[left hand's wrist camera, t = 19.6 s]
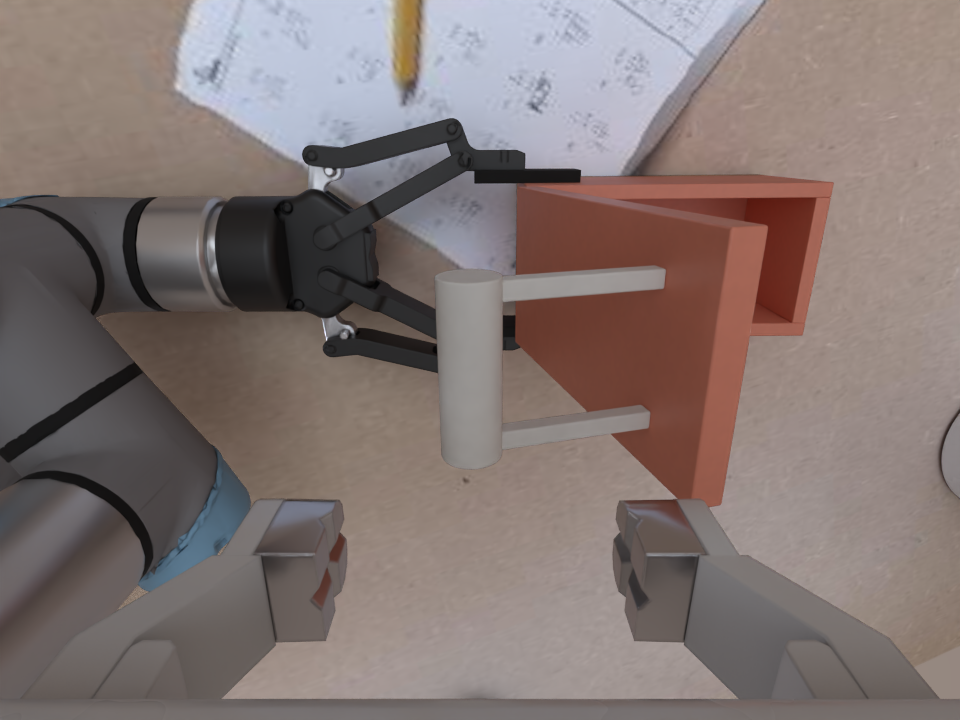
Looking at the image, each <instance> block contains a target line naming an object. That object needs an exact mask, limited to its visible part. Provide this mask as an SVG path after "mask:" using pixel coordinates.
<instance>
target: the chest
mask: <svg viewBox="0 0 960 720" xmlns="http://www.w3.org/2000/svg"><path fill="white" fill-rule="evenodd" d="M833 184H834V183H833V182H824V181H814V180H804V179H795V178H785V177H775V176H765V175H758V174H753V175H656V176H581V179H580V183H517V188H518V187H525V186H539V187H545V188H550V189H556V190H562V191H568V192H574V193H580V194H586V195H592V196H598V197H604V198H609V199H615V200H621V201H627V202H633V203H639V204H645V205H651V206H657V207H663V208H668V209H674V210H680V211H686V212H692V213H698V214H704V215H710V216H716V217H722V218H727V219H733V220H739V221H745V222H751V223H757V224H763V225H767V226H768V232H767V238H766V244H765V250H764V255H763V261H762V267H761V273H760V279H759V285H758V291H757V297H756V303H755V308H754V314H753V320H752V326H751V332H750V336H790V335H803V330H804V325H805V321H806V316H807V311H808V306H809V301H810V296H811V291H812V287H813V282H814V277H815V272H816V267H817V262H818V257H819V252H820V248H821V243H822V238H823V233H824V228H825V223H826V218H827V213H828V209H829V204H830V199H831V198H830V197H831V194H832V189H833ZM516 247H517V223H516Z"/></svg>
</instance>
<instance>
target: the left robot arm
mask: <svg viewBox="0 0 960 720" xmlns="http://www.w3.org/2000/svg"><path fill="white" fill-rule="evenodd" d="M941 462H942V471H943V475H944V478H945V481H946V483H947V484H948V486H949V488H950V489H951V490H952V491H953V493H954V494H955V495H957V496H958V497H959V498H960V413H959V415H958V416H957V418H956V419H955V421H954V422H953V424H952V426H951V428H950V429H949V432H948V434H947V436H946V439H945V442H944V445H943V450H942V461H941ZM343 521H344V513H343V506H342V503H341V502H340V500H325V499H259V500H257V501H255V502H254V504H253V505H252V507H251V508H250V510H249V512H248V513H247V515H246V516H245V518H244V519H243V521H242V522H241V524H240V526H239V527H238V529H237V530H236V532H235V533H234V535H233V536H232V538H231V539H230V541H229V543H228V544H227V546H226V547H225V549H224V550H223V552H222V553H221V555H212V556H210V557H208V558H207V559H205V560H203V561H201V562H200V563H198V564H196V565H195V566H193V567H191V568H189V569H188V570H186V571H184V572H183V573H181V574H179V575H177V576H176V577H174V578H172V579H171V580H169V581H167V582H166V583H164V584H162V585H160V586H159V587H157V588H155V589H154V590H152V591H150V592H148V593H147V594H145V595H143V596H142V597H140V598H138V599H136V600H135V601H133V602H131V603H130V604H128V605H126V606H124V607H123V608H121V609H119V610H118V611H116V612H114V613H112V614H111V615H109V616H107V617H106V618H104V619H102V620H100V621H99V622H97V623H95V624H94V625H92V626H90V627H88V628H87V629H85V630H83V631H82V632H80V633H78V634H76V635H75V636H73V637H72V638H71V639H70V640H69V641H68V642H67V644H66V645H65V646H64V647H63V648H62V650H61V651H60V652H59V653H58V654H57V655H56V657H55V658H54V659H53V660H52V661H51V663H50V664H49V665H48V666H47V667H46V669H45V670H44V671H43V672H42V673H41V675H40V676H39V677H38V678H37V679H36V680H35V682H34V683H33V684H32V685H31V686H30V688H29V689H28V690H27V691H26V692H25V694H24V695H23V696H22V697H21V698H20V699H0V720H960V699H940V698H939V697H938V696H937V695H936V694H935V692H934V691H933V690H932V689H931V688H930V686H929V685H928V684H927V683H926V682H925V680H924V679H923V678H922V677H921V676H920V674H919V673H918V672H917V671H916V670H915V668H914V667H913V666H912V665H911V664H910V662H909V661H908V660H907V659H906V658H905V656H904V655H903V654H902V653H901V652H900V650H899V649H898V648H897V647H896V646H895V644H894V643H893V642H892V641H891V640H890V638H888V637H886V636H885V635H883V634H881V633H880V632H878V631H876V630H875V629H873V628H871V627H869V626H868V625H866V624H864V623H863V622H861V621H859V620H857V619H856V618H854V617H852V616H851V615H849V614H847V613H846V612H844V611H842V610H840V609H839V608H837V607H835V606H834V605H832V604H830V603H828V602H827V601H825V600H823V599H822V598H820V597H818V596H817V595H815V594H813V593H811V592H810V591H808V590H806V589H805V588H803V587H801V586H799V585H798V584H796V583H794V582H793V581H791V580H789V579H788V578H786V577H784V576H782V575H781V574H779V573H777V572H776V571H774V570H772V569H770V568H769V567H767V566H765V565H764V564H762V563H760V562H759V561H757V560H755V559H753V558H752V557H750V556H748V555H739V553H738V552H737V550H736V549H735V547H734V546H733V544H732V543H731V541H730V540H729V538H728V537H727V535H726V534H725V532H724V530H723V529H722V527H721V526H720V524H719V523H718V521H717V520H716V518H715V517H714V515H713V514H712V512H711V511H710V509H709V508H708V506H707V504H706V503H705V501H703V500H702V499H700V498H692V499H673V500H621V501H619V503H618V506H617V512H616V521H617V524H618V527H619V530H620V533H619V534H618V535H617V536H616V537H615V538H614V541H613V570H614V576H615V581H616V584H617V588H618V591H619V592H620V593H621V594H622V595H624V596H625V597H626V602H625V613H626V616H627V620H628V623H629V626H630V629H631V632H632V635H633V638H634V641H653V642H684V645H685V646H686V647H687V648H688V649H689V650H690V651H691V652H692V653H693V654H694V655H695V656H696V657H697V658H698V659H699V660H700V661H701V662H702V663H703V664H704V665H705V666H706V667H707V668H708V669H709V670H710V671H711V672H712V673H713V674H714V675H715V676H716V677H717V678H718V679H719V680H720V681H721V682H722V683H723V684H724V685H725V686H727V687H728V688H729V689H730V690H731V691H732V692H733V693H734V694H735V695H736V696H737V697H738V698H739V699H221V698H222V697H223V696H225V695H226V694H227V693H228V692H229V691H230V690H231V689H232V688H233V687H234V686H235V685H236V684H237V683H238V682H239V681H240V680H241V679H242V678H243V677H244V676H245V675H246V674H247V673H248V672H249V671H250V670H251V669H252V668H253V667H254V666H255V665H256V664H257V663H258V662H259V661H260V660H261V659H262V658H263V657H264V656H265V655H266V654H267V653H268V652H269V651H270V650H271V649H272V648H274V647H275V646H276V643H275V642H306V641H326V638H327V635H328V632H329V629H330V626H331V623H332V620H333V616H334V613H335V602H334V597H335V596H336V595H338V594H339V593H340V592H341V591H342V588H343V584H344V581H345V575H346V568H347V541H346V538H345V537H344V536H343V535H342V534H341V533H340V530H341V527H342V524H343Z"/></svg>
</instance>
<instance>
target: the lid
mask: <svg viewBox="0 0 960 720" xmlns="http://www.w3.org/2000/svg"><path fill="white" fill-rule="evenodd" d="M767 232H768V226H767V225H763V224H757V223H751V222H745V221H739V220H733V219H727V218H722V217H716V216H710V215H704V214H698V213H692V212H686V211H680V210H674V209H668V208H663V207H657V206H651V205H645V204H639V203H633V202H627V201H621V200H615V199H609V198H604V197H598V196H592V195H586V194H580V193H574V192H568V191H562V190H556V189H550V188H545V187H539V186H525V187H518V188H517V247H516V275H509V276H502V275H501V274H500V273H498V272H495V271H490V270H483V269H458V270H450V271H445V272H442V273H439V274H437V275H436V276H435V278H434V280H435V305H436V330H437V355H438V380H439V406H440V431H441V455H442V458H443V459H444V461H445V462H446V463H448V464H449V465H451V466H453V467H456V468H460V469H471V470H472V469H481V468H486V467H489V466H491V465H493V464H495V463H496V462H497V461H498V460H499V459H500V458H501V456H502V450H506V449H513V448H520V447H526V446H533V445H540V444H546V443H553V442H560V441H566V440H573V439H580V438H586V437H593V436H600V435H606V434H611V435H612V436H613V437H614V438H615V439H616V440H617V441H619V442H620V443H621V444H622V445H623V446H624V447H625V448H626V449H627V450H628V451H629V452H630V453H631V454H632V455H633V456H634V457H635V458H636V459H637V460H638V461H639V462H640V463H641V464H642V465H643V466H644V467H645V468H646V469H648V470H649V471H650V472H651V473H652V474H653V475H654V476H655V477H656V478H657V479H658V480H659V481H660V482H661V483H662V484H663V485H664V486H665V487H666V488H667V489H668V490H669V491H670V492H671V493H672V494H673V495H674V496H675V497H677V498H678V499H692V498H700V499H702V500H703V501H705V503H706V504H707V506H708V507H713V506H718V505H721V503H722V497H723V491H724V485H725V479H726V473H727V467H728V462H729V456H730V450H731V444H732V438H733V432H734V426H735V420H736V414H737V409H738V403H739V397H740V391H741V385H742V379H743V373H744V367H745V361H746V356H747V350H748V344H749V338H750V332H751V326H752V320H753V314H754V308H755V303H756V297H757V291H758V285H759V279H760V273H761V267H762V261H763V255H764V250H765V244H766V238H767ZM511 301H516V325H515V342H516V343H517V344H518V345H519V346H520V347H521V348H522V349H523V350H524V351H525V352H526V353H527V354H528V355H530V356H531V357H532V358H533V359H534V360H535V361H536V362H537V363H538V364H539V365H540V366H541V367H542V368H543V369H544V370H545V371H546V372H547V373H548V374H549V375H550V376H551V377H552V378H553V379H554V380H555V381H556V382H557V383H558V384H560V385H561V386H562V387H563V388H564V389H565V390H566V391H567V392H568V393H569V394H570V395H571V396H572V397H573V398H574V399H575V400H576V401H577V402H578V403H579V404H580V405H581V406H582V407H583V408H584V409H585V410H586V411H587V412H584V413H577V414H570V415H562V416H555V417H548V418H540V419H533V420H526V421H519V422H511V423H504V424H502V369H503V302H511Z"/></svg>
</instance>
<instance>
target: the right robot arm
mask: <svg viewBox="0 0 960 720" xmlns="http://www.w3.org/2000/svg"><path fill="white" fill-rule="evenodd" d="M443 143H447V145H448V148H449V151H450V153H451V156H450V157H448V158H446V159H445V160H443V161H441V162H439V163H437V164H436V165H434V166H432V167H430V168H429V169H427V170H425V171H423V172H422V173H420V174H418V175H416V176H414V177H413V178H411V179H409V180H407V181H406V182H404V183H402V184H400V185H399V186H397V187H395V188H393V189H391V190H390V191H388V192H386V193H384V194H383V195H381V196H379V197H377V198H376V199H374V200H372V201H370V202H368V203H367V204H365V205H363V206H361V207H359V208H358V209H356V210H355V209H353V208H352V207H350V206H349V205H348V204H346V203H345V202H343V201H342V200H340V199H339V198H338V197H336V196H335V195H333V194H332V193H331V192H329V191H327V189H328V185H329V184H330V183H331V182H332V181H335V180H339V179H341V178H342V177H343V175H344V168H351V167H357V166H362V165H365V164H369V163H373V162H376V161H380V160H384V159H388V158H391V157H395V156H399V155H403V154H406V153H410V152H414V151H417V150H421V149H425V148H429V147H432V146H436V145H440V144H443ZM302 156H303V160H304V161H305V163H307V164H308V190H306V191H304V192H303V193H301V194H300V195H297V196H238V197H233V198H231V199H230V200H229V201H228V200H226V199H224V198H222V197H220V196H219V197H149V198H109V197H59V196H57V195H32V196H22V197H16V198H7V199H0V699H20V698H21V697H22V696H23V695H24V694H25V692H26V691H27V690H28V689H29V688H30V686H31V685H32V684H33V683H34V682H35V680H36V679H37V678H38V677H39V676H40V675H41V673H42V672H43V671H44V670H45V669H46V667H47V666H48V665H49V664H50V663H51V661H52V660H53V659H54V658H55V657H56V655H57V654H58V653H59V652H60V651H61V650H62V648H63V647H64V646H65V645H66V644H67V642H68V641H69V640H70V639H71V638H72V637H73V636H75V635H76V634H78V633H80V632H82V631H83V630H85V629H87V628H88V627H90V626H92V625H94V624H95V623H97V622H99V621H100V620H102V619H104V618H106V617H107V616H109V615H111V614H112V613H114V612H116V611H117V609H118V608H119V607H120V606H121V605H122V603H123V602H124V601H125V600H126V599H127V598H128V596H129V595H130V594H131V593H132V592H133V590H134V589H135V588H136V587H137V585H139V586H140V587H141V588H142V589H144V590H146V591H149V592H150V591H152V590H154V589H155V588H157V587H159V586H160V585H162V584H164V583H166V582H167V581H169V580H171V579H172V578H174V577H176V576H177V575H179V574H181V573H183V572H184V571H186V570H188V569H189V568H191V567H193V566H195V565H196V564H198V563H200V562H201V561H203V560H205V559H207V558H208V557H210V556H212V555H217V554H218V552H219V551H220V550H221V548H222V547H224V546H225V545H226V544H227V543H228V542H229V541H230V539H231V538H232V536H233V535H234V533H235V532H236V530H237V529H238V527H239V526H240V524H241V522H242V521H243V519H244V518H245V516H246V515H247V513H248V512H249V510H250V506H251V501H250V495H249V493H248V491H247V489H246V488H245V487H244V485H243V484H242V483H241V482H240V480H239V479H238V478H237V476H236V475H235V474H234V472H233V471H232V470H231V468H230V467H229V466H228V464H227V463H226V462H225V460H224V459H223V457H222V455H221V453H220V452H219V451H218V450H217V449H216V448H215V447H214V446H213V445H211V444H210V443H209V442H208V441H207V440H206V439H205V438H204V437H203V436H202V435H201V434H200V433H199V432H198V430H197V429H196V428H195V427H194V426H193V425H192V424H191V423H190V422H189V421H188V420H187V419H186V418H185V416H184V415H183V414H182V413H181V412H180V411H179V410H178V409H177V408H176V407H175V406H174V405H173V404H172V402H171V401H170V400H169V399H168V398H167V397H166V396H165V395H164V394H163V393H162V392H161V391H160V389H159V388H158V387H157V386H156V385H155V384H154V383H153V382H152V381H151V380H150V379H149V378H148V377H147V375H146V374H145V373H144V372H143V371H142V370H141V369H140V368H139V367H138V365H137V364H136V363H135V362H134V361H133V360H132V358H131V357H130V356H129V355H128V354H127V353H126V352H125V351H124V350H123V348H122V347H121V346H120V345H119V344H118V343H117V342H116V341H115V340H114V338H113V337H112V336H111V335H110V334H109V333H108V332H107V331H106V329H105V328H104V327H103V326H102V325H101V324H100V323H99V322H98V321H97V319H96V317H98V316H100V315H103V314H107V313H113V312H137V311H193V312H230V311H233V310H235V309H236V308H237V307H238V308H239V309H240V310H242V311H246V312H271V311H305V312H309V313H312V314H314V315H316V316H318V317H320V318H322V321H323V326H324V331H325V335H326V342H325V343H324V345H323V351H324V353H325V354H326V355H327V356H329V357H340V356H349V355H361V356H365V357H370V358H374V359H379V360H383V361H387V362H392V363H396V364H401V365H405V366H410V367H414V368H418V369H423V370H427V371H432V372H436V373H438V355H437V344H434V343H430V342H425V341H421V340H417V339H412V338H408V337H404V336H399V335H395V334H391V333H386V332H382V331H378V330H373V329H367V328H357V326H356V324H355V323H353V322H351V321H346V320H344V319H342V318H341V317H340V315H339V313H340V312H341V311H343V310H344V309H345V308H347V307H348V306H349V305H351V304H352V303H353V302H355V303H357V304H359V305H361V306H363V307H365V308H367V309H369V310H372V311H375V312H381V313H383V314H385V315H387V316H389V317H391V318H393V319H395V320H397V321H400V322H402V323H404V324H406V325H408V326H410V327H412V328H414V329H416V330H418V331H420V332H422V333H424V334H426V335H428V336H430V337H432V338H434V339H437V330H436V309H434V308H432V307H430V306H428V305H426V304H424V303H422V302H420V301H418V300H416V299H414V298H412V297H410V296H408V295H406V294H404V293H402V292H400V291H398V290H396V289H394V288H392V287H391V286H390V285H389V284H388V283H386V282H384V281H382V280H380V279H378V278H377V276H378V275H379V270H378V262H377V259H376V256H375V253H374V251H375V246H376V241H377V240H376V229H374V228H373V226H372V223H374V222H376V221H378V220H379V219H381V218H383V217H385V216H386V215H388V214H390V213H392V212H394V211H395V210H397V209H399V208H401V207H403V206H404V205H406V204H408V203H410V202H412V201H413V200H415V199H417V198H419V197H420V196H422V195H424V194H426V193H428V192H429V191H431V190H433V189H435V188H437V187H438V186H440V185H442V184H444V183H446V182H447V181H449V180H451V179H453V178H455V177H456V176H458V175H460V174H462V173H464V172H465V171H474V183H580V179H581V170H578V169H525V153H523V152H520V151H518V150H476V149H473V148H472V147H471V146H470V145H469V143H468V141H467V139H466V136H465V133H464V130H463V127H462V125H461V123H460V122H459V121H458V120H456V119H454V118H449V119H446V120H442V121H438V122H435V123H431V124H427V125H424V126H420V127H416V128H413V129H409V130H405V131H402V132H398V133H394V134H391V135H387V136H383V137H380V138H376V139H372V140H369V141H365V142H361V143H358V144H354V145H350V146H347V147H343V148H341V147H332V146H323V145H309V146H307V147H305V148H304V150H303V153H302ZM515 325H516V316H503V350H515V349H518V348H520V346H519V345H518V344H517V343H516V342H515Z"/></svg>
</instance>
